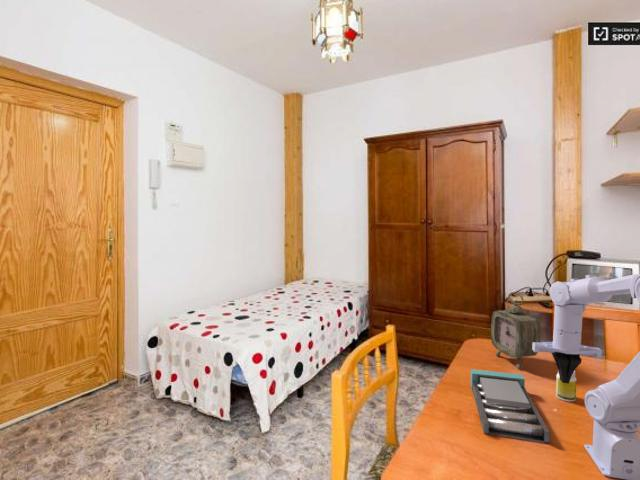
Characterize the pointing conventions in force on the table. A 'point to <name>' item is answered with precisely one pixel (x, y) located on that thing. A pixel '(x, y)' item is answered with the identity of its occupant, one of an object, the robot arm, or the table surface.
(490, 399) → the slab
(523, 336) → the tabletop clock
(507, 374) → the end stop
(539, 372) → the table surface
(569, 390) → the supplement bottle
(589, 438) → the table surface
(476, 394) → the roller bed
